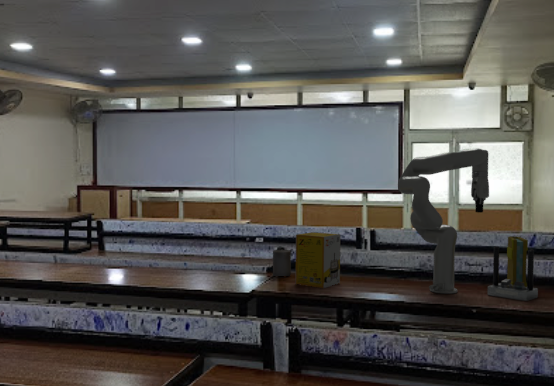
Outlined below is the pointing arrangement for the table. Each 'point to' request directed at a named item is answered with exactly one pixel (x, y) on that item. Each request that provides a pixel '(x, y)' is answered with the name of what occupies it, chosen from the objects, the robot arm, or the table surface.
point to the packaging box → (318, 259)
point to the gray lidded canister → (281, 263)
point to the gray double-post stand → (510, 289)
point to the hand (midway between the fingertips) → (479, 212)
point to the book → (517, 259)
